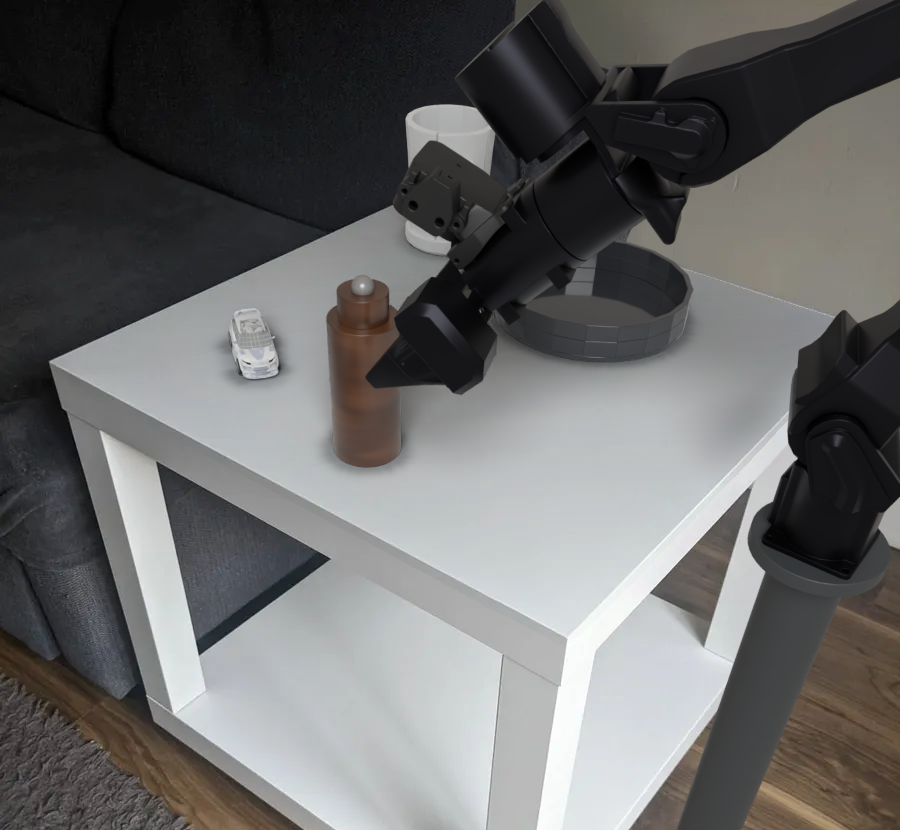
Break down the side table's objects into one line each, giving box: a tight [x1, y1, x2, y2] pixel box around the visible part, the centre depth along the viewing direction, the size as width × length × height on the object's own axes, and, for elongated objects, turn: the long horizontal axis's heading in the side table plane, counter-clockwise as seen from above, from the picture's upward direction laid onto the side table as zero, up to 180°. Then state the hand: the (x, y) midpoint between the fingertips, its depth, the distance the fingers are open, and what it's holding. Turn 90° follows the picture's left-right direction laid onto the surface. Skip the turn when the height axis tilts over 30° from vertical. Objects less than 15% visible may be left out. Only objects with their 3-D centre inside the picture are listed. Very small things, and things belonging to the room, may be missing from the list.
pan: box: [493, 239, 694, 363], centre depth 92 cm, size 18×18×4 cm
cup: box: [404, 104, 496, 257], centre depth 99 cm, size 10×9×12 cm
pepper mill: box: [325, 274, 402, 468], centre depth 72 cm, size 5×5×14 cm
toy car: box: [227, 307, 281, 380], centre depth 84 cm, size 4×8×3 cm, turn 17°
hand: (391, 349), depth 70 cm, fingers open, 9 cm apart
